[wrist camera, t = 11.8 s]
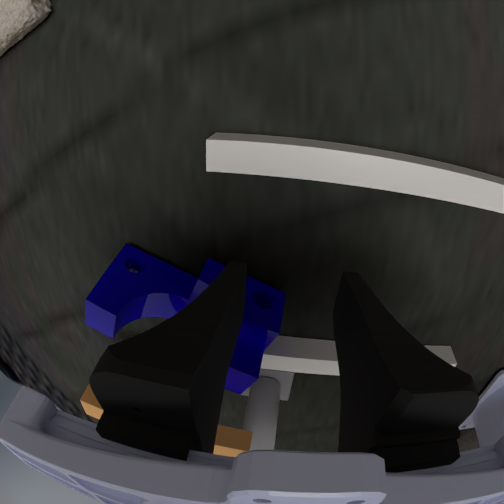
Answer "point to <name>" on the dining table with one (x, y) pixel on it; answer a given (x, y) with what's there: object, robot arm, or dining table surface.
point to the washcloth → (20, 19)
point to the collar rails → (350, 173)
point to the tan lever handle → (230, 439)
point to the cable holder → (182, 305)
